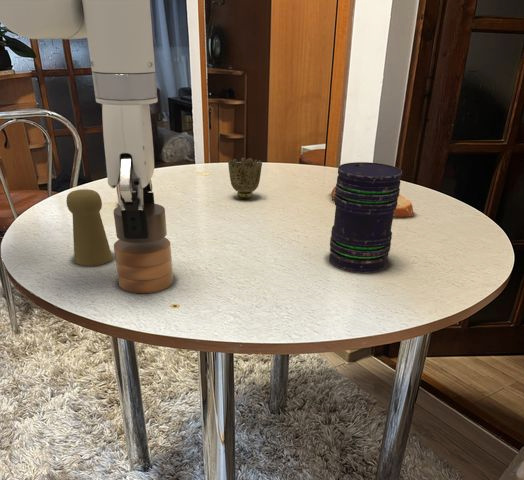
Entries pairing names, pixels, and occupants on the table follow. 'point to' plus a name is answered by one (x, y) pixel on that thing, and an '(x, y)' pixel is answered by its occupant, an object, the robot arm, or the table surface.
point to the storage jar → (364, 216)
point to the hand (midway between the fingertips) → (140, 227)
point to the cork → (88, 228)
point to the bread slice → (402, 208)
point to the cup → (245, 176)
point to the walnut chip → (154, 221)
